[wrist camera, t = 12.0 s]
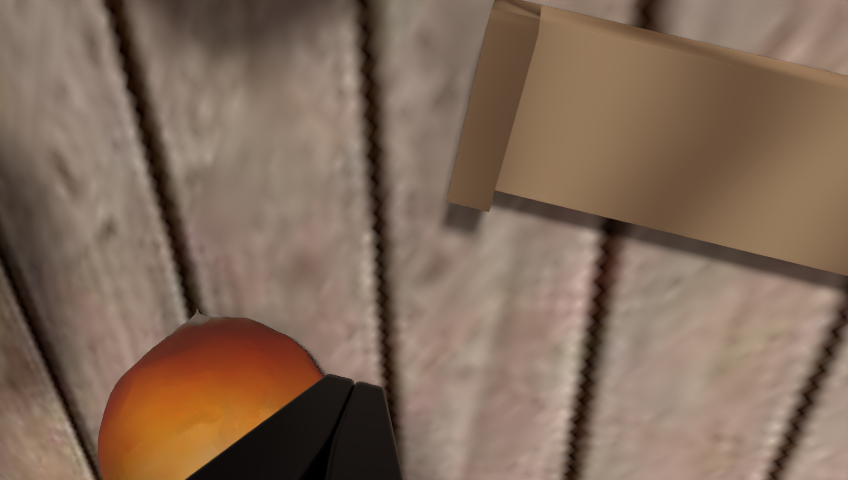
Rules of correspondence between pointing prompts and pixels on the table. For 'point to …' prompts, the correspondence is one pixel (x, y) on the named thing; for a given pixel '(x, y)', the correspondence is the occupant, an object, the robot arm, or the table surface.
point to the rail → (658, 134)
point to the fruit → (198, 397)
